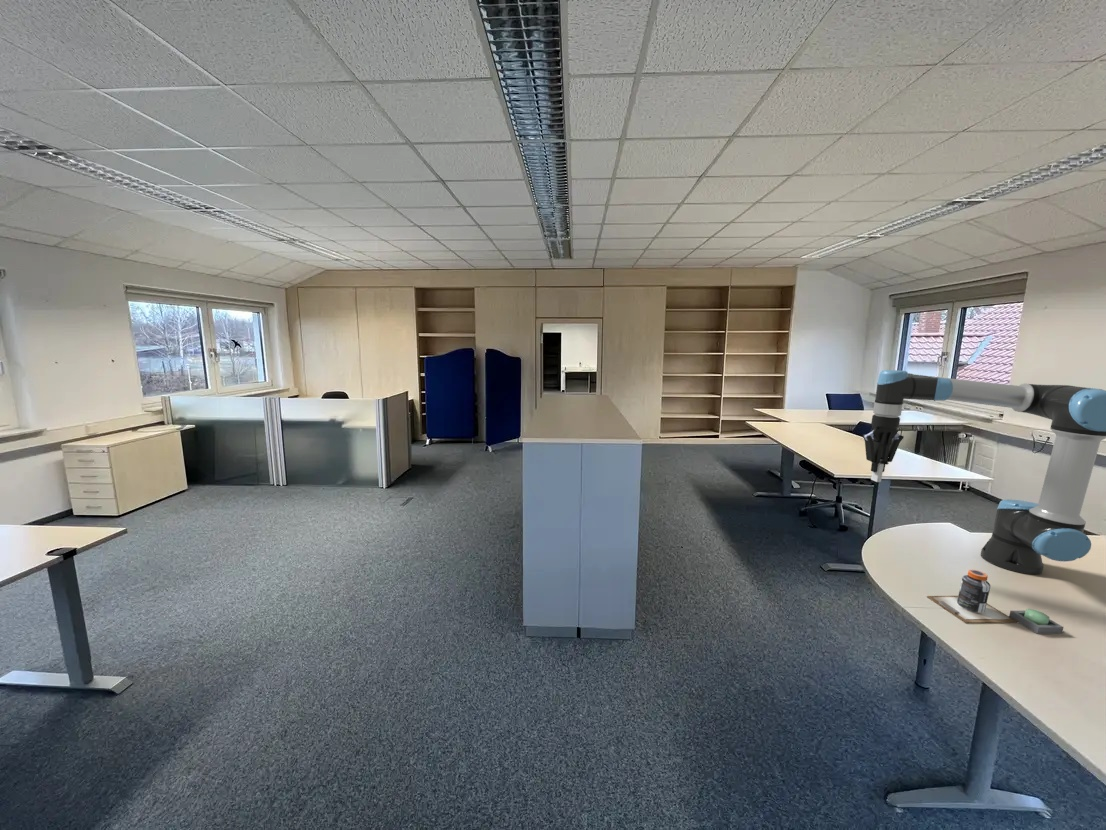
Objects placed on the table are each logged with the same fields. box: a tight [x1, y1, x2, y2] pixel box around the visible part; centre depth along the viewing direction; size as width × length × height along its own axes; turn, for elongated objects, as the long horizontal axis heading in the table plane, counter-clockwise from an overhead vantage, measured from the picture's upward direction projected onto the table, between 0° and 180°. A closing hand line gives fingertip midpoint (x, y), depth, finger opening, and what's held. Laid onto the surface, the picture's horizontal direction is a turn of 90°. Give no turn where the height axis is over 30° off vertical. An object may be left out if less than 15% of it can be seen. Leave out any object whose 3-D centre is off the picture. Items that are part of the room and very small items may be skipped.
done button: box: [1024, 608, 1050, 625], centre depth 117 cm, size 4×4×3 cm
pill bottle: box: [957, 569, 991, 613], centre depth 122 cm, size 6×6×11 cm
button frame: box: [1008, 609, 1064, 635], centre depth 117 cm, size 7×7×2 cm
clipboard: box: [926, 595, 1018, 624], centre depth 123 cm, size 15×12×1 cm
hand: (875, 480), depth 147 cm, fingers closed
